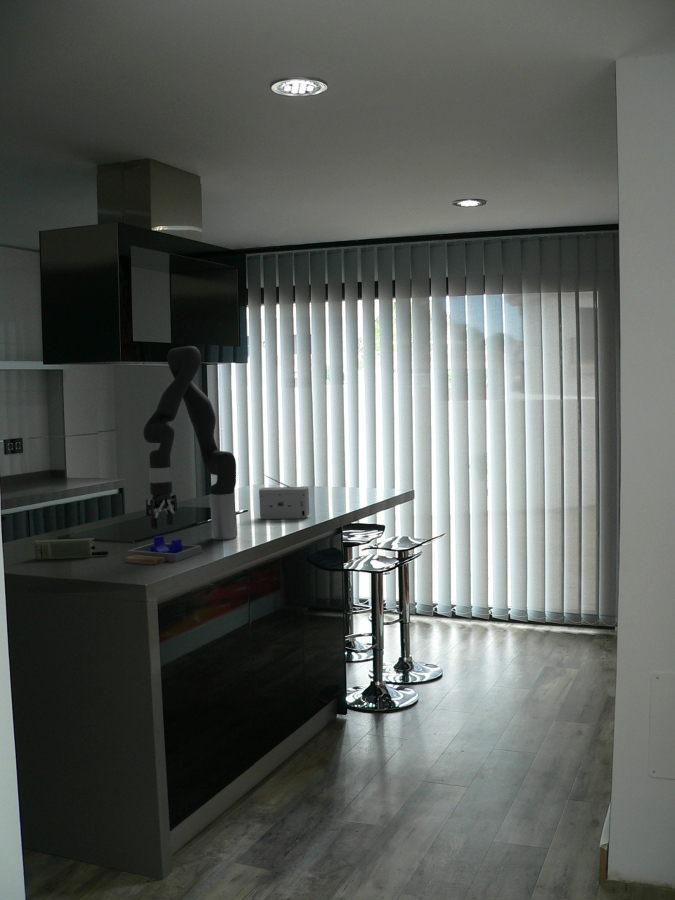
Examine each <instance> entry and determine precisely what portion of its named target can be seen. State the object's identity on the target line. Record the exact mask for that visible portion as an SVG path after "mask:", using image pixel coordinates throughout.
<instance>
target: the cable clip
mask: <svg viewBox="0 0 675 900" xmlns="http://www.w3.org/2000/svg"><path fill="white" fill-rule="evenodd" d="M153 543H154V546H151V552H161V553H174V554H175V553H178V552H181V551H182V539H181V538H178V539H177V538H176V539H173V540H171V544H172V545H171V548H170V549H168V548H167V546H166V545H165V543H166V542H165V539H164V536H163V535H158V536H153Z"/></svg>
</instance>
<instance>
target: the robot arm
mask: <svg viewBox="0 0 675 900" xmlns="http://www.w3.org/2000/svg"><path fill="white" fill-rule="evenodd" d="M166 358H167V360H166V361H167V365H168V367H169V370H170V372H171V374H172V376H173V379H174V380H172V382H171V383H170V384H169V385H168V386H167V388H166V389H165V390H164V391H163V393H162V395H161V396H160V399H159V402H158V404H157V407H156V409H155V411H154V412H153V414H152V415H151V416H150V418H149V419H148V420H147V421H146V424H145V425H144V427H143V428H144V429H143V432H142V433H143V439H144V440H145V441H146V442H147V443H150V444H159V447H158V449H154V450H151V452H150V453H149V493H150V495H152V498H150V499H149V498H148V499H146V500H145V509H146V510H145V517H147V518H150V527H151V529H152V530H156V529H158V528H159V521H158V520H159V519H158V516H159V514H160V513H161V511H163V510H164V511H165V512H166V525H169V526H173V525H174V514H175V513H176V512H177V511H178V503H177V501H178V500H177V499H178V498H177V495H176V494H173V480H172V479H173V477H172V476H173V475H172V470H171V469H172V467H171V454H172V450H173V449H172V447H173V444H174V441H175V435H176V434H175V429H174V427H173V425H172V424H171V423H170V422H173V421H174V420H175V419H176V417H177V414H178V411H179V408H180V406H181V402H182V400H183V403H184V404H185V409H186V411H187V415H188V416H189V417H188V418H189V419H190V423H191V425H192V427H193V431H194V433H195V437H196V440H197V442H198V445H199V449H200V453H201V457H202V462H203V466H204V468H205V470H206V471H207V472H208V473H209V474H210V475H212V476H213V475H214V476H216V482H214V484H211V485H210V486H209V497H210V499H209V501H210V518H211V520H210V521H211V538H212V539H213V540H220V541H221V540H233V539H235V538H237V536H238V525H237V522H238V519H237V511H236V501H235V500H236V498H235V488H236V485H237V460H236V457H235V456H234V454H233V453H232V452H230V451H225V450H224V451H223V450H219V448H218V446H217V444H216V440H215V430H216V421H217V419H216V412H215V410H214V407H213V404H212V402H211V400H210V399H209V397H208V396H207V395H206V394H205V392H203V391H202V390H201V389H200V388H199V387H198V386H197V385H196V384H195V383H194V381H193V379H194V378H195V376H196V374H197V373H198V370H199V369H200V366H201V363H202V355H201V351H200V350H199V348H197V347H196V346H194V345H193V346H192V345H188V346H181V347H174V348H171V349H170V350H169V351H168V353H167V356H166Z"/></svg>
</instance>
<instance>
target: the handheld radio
mask: <svg viewBox="0 0 675 900" xmlns="http://www.w3.org/2000/svg"><path fill="white" fill-rule="evenodd" d="M94 540H95V538H91V537H89V538H88V537H87V538H67V539H64V538H63V539H43V540H42V539H40V540H34V553H35V560H52V559H53V560H55V559H79V558H80V559H82V558H83V559H85V558H92V557H93V556H108V555H109V551H107V550H106V551H105V550H104V551H93V550H96V546H95V545H93V544H95V541H94Z"/></svg>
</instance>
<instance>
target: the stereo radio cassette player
mask: <svg viewBox="0 0 675 900" xmlns="http://www.w3.org/2000/svg"><path fill="white" fill-rule="evenodd" d="M264 477H266V478H269V479H270V480H272V481H274V482H276V483H279V484H281V485H283V486H284V487H282V486H280V487H279V486H278V487H271V486H270V487H261V488H259V490H258V494H259V495H258V497H259V498H258V499H259V515H260V516H259V517H260V518H261V519H262V520H286V519H287V520H289V519H291V520H292V519H293V520H294V519H295V520H296V519H297V520H299V519H302V520H304V519H306V518H307V517H308V516H309V515H310V490H309V487H308V486H289V485H287V484H285V483H283V482H282V481H279V480H277V479H274V478H273V477H270V476H267V475H266V474H264Z"/></svg>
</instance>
